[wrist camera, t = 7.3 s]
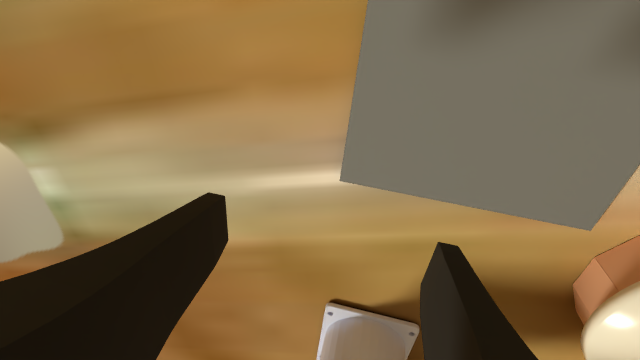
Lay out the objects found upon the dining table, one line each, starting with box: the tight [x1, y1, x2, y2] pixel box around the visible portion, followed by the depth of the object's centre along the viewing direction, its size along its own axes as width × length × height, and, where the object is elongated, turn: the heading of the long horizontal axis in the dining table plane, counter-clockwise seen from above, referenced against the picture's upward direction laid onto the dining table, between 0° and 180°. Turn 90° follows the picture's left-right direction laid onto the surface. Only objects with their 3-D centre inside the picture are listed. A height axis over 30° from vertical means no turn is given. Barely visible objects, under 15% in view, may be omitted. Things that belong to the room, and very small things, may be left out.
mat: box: [340, 0, 640, 231], centre depth 16 cm, size 15×15×1 cm
